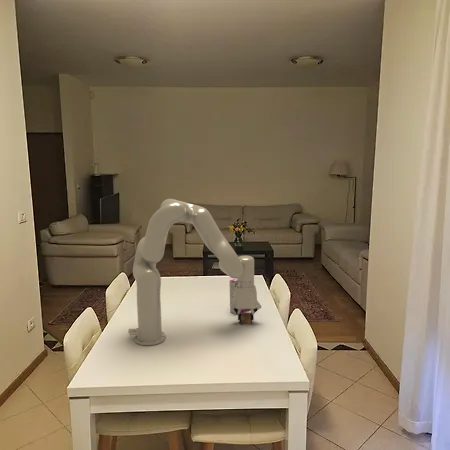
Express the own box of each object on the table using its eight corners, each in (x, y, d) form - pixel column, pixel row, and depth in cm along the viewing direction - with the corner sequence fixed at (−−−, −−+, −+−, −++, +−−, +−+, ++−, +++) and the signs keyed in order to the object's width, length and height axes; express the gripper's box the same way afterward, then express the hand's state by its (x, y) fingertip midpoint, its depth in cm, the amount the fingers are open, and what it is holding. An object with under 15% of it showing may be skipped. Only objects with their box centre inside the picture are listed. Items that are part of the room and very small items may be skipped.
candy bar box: (245, 306, 203) (245, 275, 200) (252, 309, 199) (253, 277, 196) (229, 312, 196) (229, 279, 193) (236, 315, 192) (236, 282, 189)
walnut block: (240, 324, 182) (240, 316, 181) (240, 320, 186) (240, 312, 185) (250, 324, 181) (250, 316, 181) (250, 320, 186) (250, 312, 185)
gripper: (226, 286, 177) (227, 325, 180) (265, 286, 176) (264, 325, 180) (227, 280, 184) (227, 318, 188) (264, 280, 184) (263, 318, 187)
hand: (245, 321), depth 184 cm, fingers closed on walnut block, 4 cm apart
